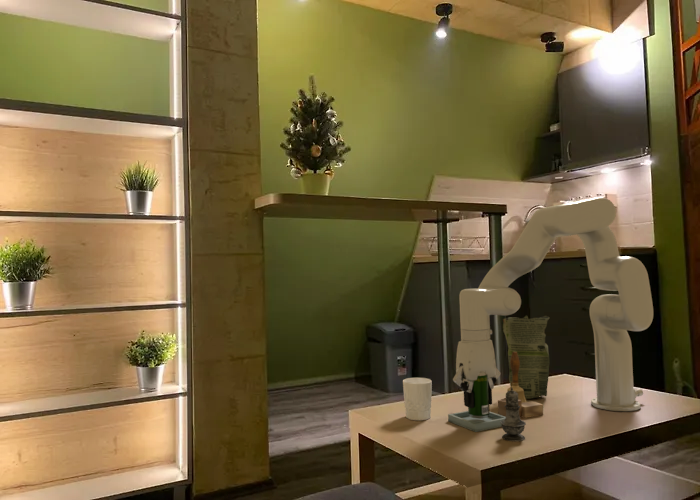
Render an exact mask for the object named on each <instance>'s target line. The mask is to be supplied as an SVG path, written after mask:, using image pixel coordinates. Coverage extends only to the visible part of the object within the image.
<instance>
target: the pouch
mask: <svg viewBox="0 0 700 500" xmlns="http://www.w3.org/2000/svg"><path fill="white" fill-rule="evenodd" d="M549 319H550V317H549V316H547V315H544V316H540V317H533V318H529V317H528V315H527V314H526V315H525V316H524V317H521V318H520V317H513V316H512V317H505V318H502V321H503V324H502V329H503V330H502V331H503V333H504V335H505V340H506V343H507V344H506V345H507V350H508V351H507V358H508V359H507V361H508V368H509V369H508V370H509V371H508V373H509V375H508V381H509V386H510V387H511V386H512V381H513V380H512V370H511V365H510V360H511V356H512V352H517V354H518V357H519V361H520V367H519V371H518V385H519V387H521V388H522V389H523V390H524V395H525V399H526V400H529V399H536V398H537V399H538V398H540V397H547V396H548V382H549V377H550V375H549V373H550V372H549V368H550V354H549V345H548V344H547V343H546V336H547V334H546V333H545V330H546V328H547V325H548V321H549Z"/></svg>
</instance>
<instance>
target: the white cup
mask: <svg viewBox="0 0 700 500" xmlns="http://www.w3.org/2000/svg"><path fill="white" fill-rule="evenodd" d="M432 385H433V384H432V380H431V378H426V377H407V378H405V379H403V380H402V387H403V388H402V389H403V399H404V402H403V403H404V408H405V417H406V419H408V420H412V421H425V420H429V419H431V412H432V411H431V408H432V389H433V388H432V387H433V386H432Z"/></svg>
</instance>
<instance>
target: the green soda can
mask: <svg viewBox="0 0 700 500" xmlns="http://www.w3.org/2000/svg"><path fill="white" fill-rule="evenodd" d="M467 386H468V383H467ZM471 392H473V393H474V408H469V407H467V411H468V413H469V415H470V417H472V418H478V419H482V418H487V417H488V416H489V411H490V405H489V392H488V375H487V373H486V371H481V372H480V374H479V375H478V376H477V380H475V381H474V382H473V387H472V391H471Z"/></svg>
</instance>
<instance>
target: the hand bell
mask: <svg viewBox="0 0 700 500" xmlns="http://www.w3.org/2000/svg"><path fill="white" fill-rule="evenodd" d="M510 365H511V370H512V380H513V381H512V386H510V387H508V388H507V390H506V391H507V392H508V391H510V390H511V387H512V388H513V391H515V392H517V393H518V400H521V401H522V403H524V402H528V400H527V399H525V395H524V390H523V389H522V388H521V387H519V385H518V371H519V367H520V361H519V357H518V354H517V352H512V356H511V360H510ZM507 392H506V393H507Z"/></svg>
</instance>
